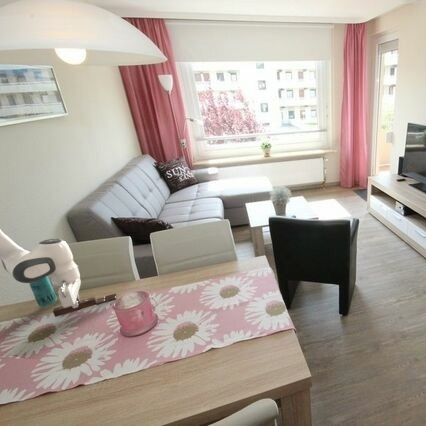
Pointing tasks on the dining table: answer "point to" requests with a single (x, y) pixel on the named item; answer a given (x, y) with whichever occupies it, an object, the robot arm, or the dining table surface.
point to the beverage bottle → (43, 292)
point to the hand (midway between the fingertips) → (76, 304)
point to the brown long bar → (84, 304)
